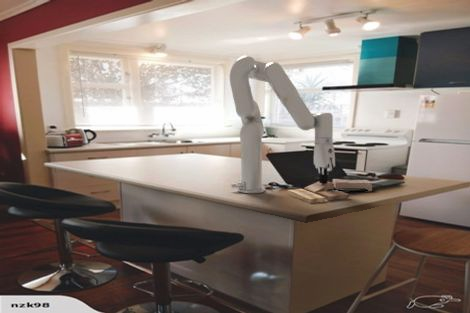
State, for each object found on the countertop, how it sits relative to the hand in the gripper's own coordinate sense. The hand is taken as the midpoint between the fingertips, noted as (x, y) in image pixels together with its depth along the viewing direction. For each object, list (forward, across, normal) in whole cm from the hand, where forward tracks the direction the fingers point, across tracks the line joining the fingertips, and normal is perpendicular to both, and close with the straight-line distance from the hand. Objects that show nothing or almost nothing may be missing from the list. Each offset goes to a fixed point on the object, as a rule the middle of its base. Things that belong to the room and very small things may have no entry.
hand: (323, 182), depth 154 cm
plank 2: (+4, -9, +2) cm, 10 cm away
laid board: (+4, -4, +12) cm, 13 cm away
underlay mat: (+5, -4, +6) cm, 8 cm away
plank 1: (+3, 0, +2) cm, 3 cm away
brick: (+6, +2, -17) cm, 18 cm away
